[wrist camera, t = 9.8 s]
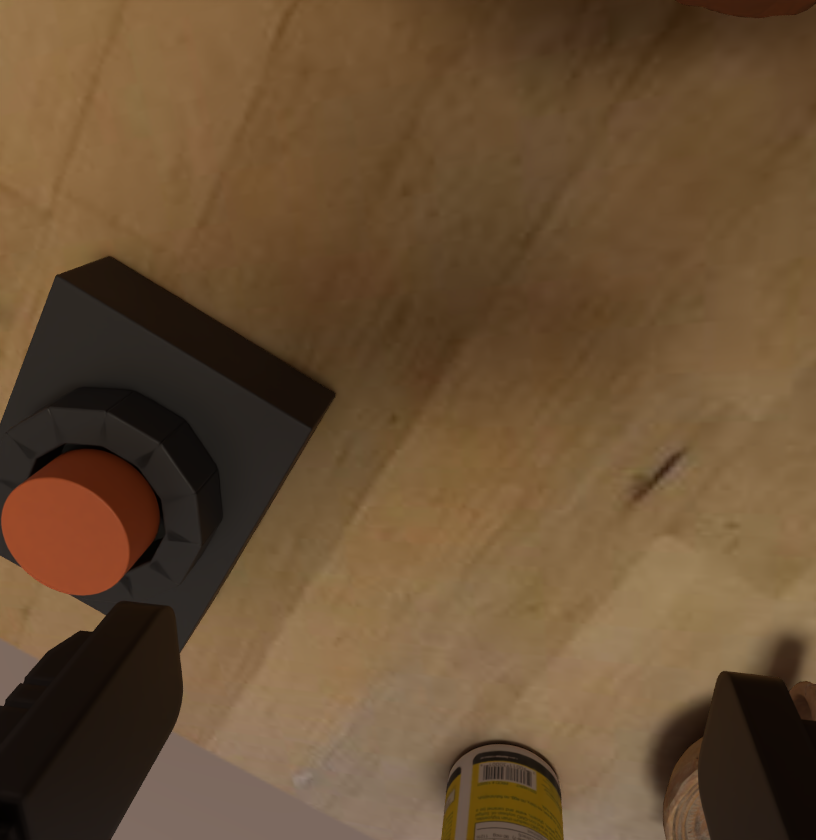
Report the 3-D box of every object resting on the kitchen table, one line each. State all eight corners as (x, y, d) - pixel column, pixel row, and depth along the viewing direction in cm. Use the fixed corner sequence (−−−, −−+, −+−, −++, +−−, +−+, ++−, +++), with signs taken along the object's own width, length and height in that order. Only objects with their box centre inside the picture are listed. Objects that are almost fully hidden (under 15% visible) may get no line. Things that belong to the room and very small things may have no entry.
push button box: (109, 254, 26) (17, 287, 21) (337, 393, 26) (296, 453, 22) (13, 491, 30) (-79, 560, 25) (211, 604, 31) (155, 691, 26)
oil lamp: (796, 897, 32) (840, 1027, 28) (618, 858, 33) (632, 980, 28) (914, 653, 27) (992, 765, 22) (700, 614, 28) (734, 714, 23)
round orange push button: (65, 424, 23) (24, 452, 21) (180, 491, 23) (149, 525, 21) (25, 518, 25) (-16, 552, 23) (133, 579, 25) (101, 618, 23)
